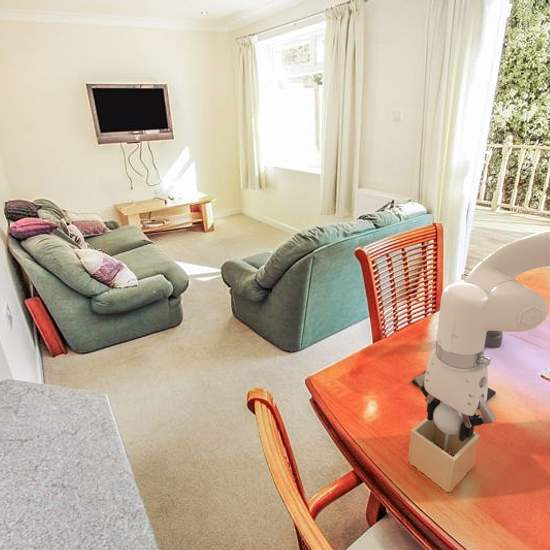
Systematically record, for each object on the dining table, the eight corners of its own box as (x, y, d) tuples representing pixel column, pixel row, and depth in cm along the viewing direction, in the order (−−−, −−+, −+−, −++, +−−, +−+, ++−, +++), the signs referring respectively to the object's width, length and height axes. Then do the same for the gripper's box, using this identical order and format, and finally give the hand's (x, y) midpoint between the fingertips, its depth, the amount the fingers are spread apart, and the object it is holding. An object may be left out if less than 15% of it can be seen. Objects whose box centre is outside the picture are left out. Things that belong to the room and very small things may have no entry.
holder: (473, 467, 77) (480, 435, 73) (448, 493, 72) (454, 460, 68) (433, 439, 84) (437, 408, 80) (407, 461, 79) (410, 430, 75)
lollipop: (429, 445, 81) (436, 392, 75) (459, 454, 79) (468, 399, 73) (426, 469, 76) (433, 413, 70) (458, 479, 74) (468, 422, 68)
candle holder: (476, 344, 114) (489, 269, 104) (479, 334, 119) (492, 261, 109) (499, 350, 111) (515, 273, 101) (502, 339, 115) (517, 265, 105)
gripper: (521, 364, 62) (503, 444, 69) (427, 324, 75) (421, 394, 82) (498, 385, 58) (482, 467, 65) (404, 339, 71) (399, 411, 78)
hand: (448, 426), depth 74 cm, fingers closed on lollipop, 6 cm apart
